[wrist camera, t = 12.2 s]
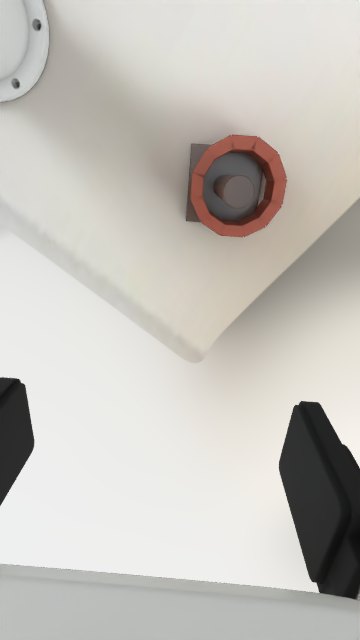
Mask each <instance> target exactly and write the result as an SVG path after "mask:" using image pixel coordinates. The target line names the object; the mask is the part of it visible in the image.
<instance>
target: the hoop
mask: <svg viewBox="0 0 360 640" xmlns="http://www.w3.org/2000/svg"><path fill="white" fill-rule="evenodd" d="M228 152H238V153H247V154H249V155H250V156H251V157H252V158H254V159H255V160H256V161H257V162H259V163H260V164H261V167H262V169H263V172H264V175H265V178H266V187H265V193H264V199H263V200H262V202H261V203H260V204H259V206H258V207H257V208H256V210H255V211H254V213H253V214H251V215H249V216H247V217H244V218H242V219H240V220H238V221H233V220H221V219H220V218H219V217H217V216H216V215H214V214H213V213H212V212H210V211H209V210H208V208H207V206H206V203H205V201H204V199H203V197H202V195H203V183H204V176H205V174H206V173H207V171H208V169H209V168H210V166H211V165H212V163H213V162H214V160H215V159H217V158H219V157H221V156H223V155H224V154H226V153H228ZM277 153H278V152H277V151H276V150H274V149H273V148H272V147H271V146H269V145H268V144H267V143H266V142H264V141H263V140H262V139H261V138H259V137H258V138H257V136H244V135H232V136H231V135H230V136H228V137H226V138H224V139H223V140H221V141H219V142H217V143H215V144H214V145H212V146H210V147H208V149H206V151H205V152H204V154H203V156H202V157H201V159H200V160H199V162H198V164H197V165H196V167H195V169H194V170H193V172H194V173H192V183H191V197H190V198H191V202H192V204H193V206H194V208H195V210H196V213H197V215H198V217H199V219H200V221H201V222H202V223H203V224H204V225H206V226H207V227H209V228H210V229H211V230H213V231H214V232H216V233H217V234H218V235H221V236H233V237H243V236H244V237H245V236H247V235H250V234H252V233H254V232H256V231H258V230H260V229H262V228H264V227H265V225H266V226H267V225H268V224H269V222H270V221H271V220H272V218H273V217H274V216H275V214H276V213H277V212H278V210H279V209H280V208H281V205H282V204H283V198H284V193H285V187H286V182H287V179H286V178H287V177H286V174H285V171H284V168H283V165H282V162H281V159H280V156H279V154H277Z"/></svg>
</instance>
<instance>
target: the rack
mask: <svg viewBox="0 0 360 640" xmlns="http://www.w3.org/2000/svg"><path fill="white" fill-rule="evenodd" d="M210 146H212V145H205V144H191V158H190V172H189V187H188V201H187V216H186V221H193V222H201V221H200V219H199V217H198V215H197V213H196V210H195V208H194V206H193V204H192V202H191V198H190V197H191V183H192V173H194V172H193V170H194V169H195V167H196V165H197V164H198V162H199V160H200V159H201V157H202V156H203V154H204V152H205V151H206V149H208V147H210ZM262 173H263V169H262V167H261V164H260V163H259V162H257V161H256V160H255V159H254V158H252V157H251V156H250V155H249V154H247V153H238V152H228V153H226V154H224V155H223V156H221V157H219V158H217V159H215V160H214V162H213V163H212V165H211V166H210V168H209V169H208V171H207V173H206V174H205V176H204V183H203V195H202V197H203V199H204V201H205V203H206V206H207V208H208V210H209V211H210V212H212V213H213V214H214V215H216V216H217V217H219V218H220V219H221V220H233V221H238V220H240V219H242V218H244V217H247V216H249V215H251V214H253V213H254V211H255V210H256V208H257V205H258V199H259V192H260V186H261V180H262Z"/></svg>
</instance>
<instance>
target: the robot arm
mask: <svg viewBox="0 0 360 640" xmlns="http://www.w3.org/2000/svg"><path fill="white" fill-rule="evenodd" d="M39 26H41V29H40V30H39ZM48 48H49V25H48V20H47V14H46V9H45V6H44V3H43V0H0V102H3V101H8V100H13V99H16V98H18V97H20V96H22V95H24V94H25V93H26V92H27V91H29V90H30V89H31V88H32V87H33V86H34V84H35V83H36V82H37V81H38V79H39V77H40V75H41V73H42V71H43V69H44V67H45V63H46V60H47V56H48ZM19 83H20V87H19V88H18V84H19ZM33 448H34V436H33V430H32V424H31V419H30V412H29V406H28V400H27V394H26V388H25V385H24V384H23V383H21V382H20V380H19V379H15V378H0V505H1V504H2V502H3V500H4V499H5V497H6V495H7V493H8V492H9V490H10V488H11V487H12V485H13V483H14V482H15V480H16V478H17V476H18V475H19V473H20V471H21V470H22V468H23V466H24V465H25V463H26V461H27V460H28V458H29V456H30V454H31V453H32V451H33ZM279 471H280V475H281V479H282V482H283V486H284V489H285V493H286V496H287V500H288V503H289V507H290V511H291V514H292V517H293V521H294V524H295V528H296V532H297V535H298V538H299V542H300V546H301V549H302V553H303V556H304V559H305V563H306V567H307V570H308V574H309V577H310V579H311V581H312V582H317V586H318V589H319V592H320V593H313V592H305V591H296V590H287V589H277V588H270V587H260V586H250V585H238V584H227V583H217V582H205V581H195V580H184V579H174V578H162V577H151V576H140V575H127V574H117V573H105V572H93V571H82V570H70V569H57V568H45V567H33V566H20V565H7V564H0V640H360V468H359V466H358V464H357V463H356V461H355V459H354V457H353V455H352V454H351V452H350V450H349V449H348V448H347V446H345V445H343V444H342V443H341V441H340V440H339V438H338V436H337V434H336V432H335V430H334V429H333V427H332V425H331V423H330V421H329V419H328V418H327V416H326V414H325V412H324V410H323V408H322V407H321V405H320V404H319V403H318V402H306V401H301V402H300V403H299V405H295V406H294V408H293V412H292V415H291V420H290V423H289V427H288V431H287V434H286V438H285V442H284V446H283V449H282V453H281V457H280V461H279Z"/></svg>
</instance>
